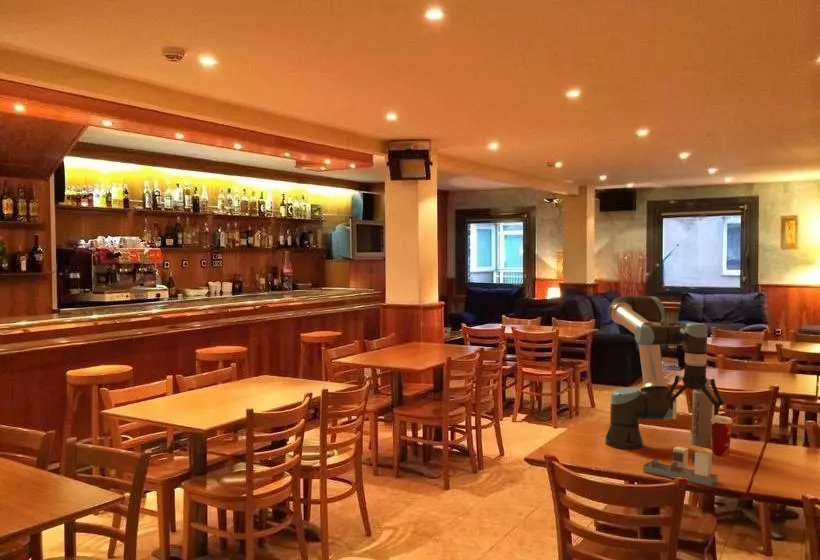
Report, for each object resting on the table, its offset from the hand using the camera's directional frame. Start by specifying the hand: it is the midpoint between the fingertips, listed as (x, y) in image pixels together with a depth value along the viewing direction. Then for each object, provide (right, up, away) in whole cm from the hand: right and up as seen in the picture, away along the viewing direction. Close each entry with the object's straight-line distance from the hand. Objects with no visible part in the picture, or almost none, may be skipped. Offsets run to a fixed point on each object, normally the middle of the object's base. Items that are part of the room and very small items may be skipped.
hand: (693, 420), depth 261 cm
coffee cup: (+19, -18, +20) cm, 33 cm away
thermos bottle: (+18, -17, +35) cm, 43 cm away
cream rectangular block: (-6, -18, -1) cm, 19 cm away
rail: (-9, -18, -10) cm, 23 cm away
